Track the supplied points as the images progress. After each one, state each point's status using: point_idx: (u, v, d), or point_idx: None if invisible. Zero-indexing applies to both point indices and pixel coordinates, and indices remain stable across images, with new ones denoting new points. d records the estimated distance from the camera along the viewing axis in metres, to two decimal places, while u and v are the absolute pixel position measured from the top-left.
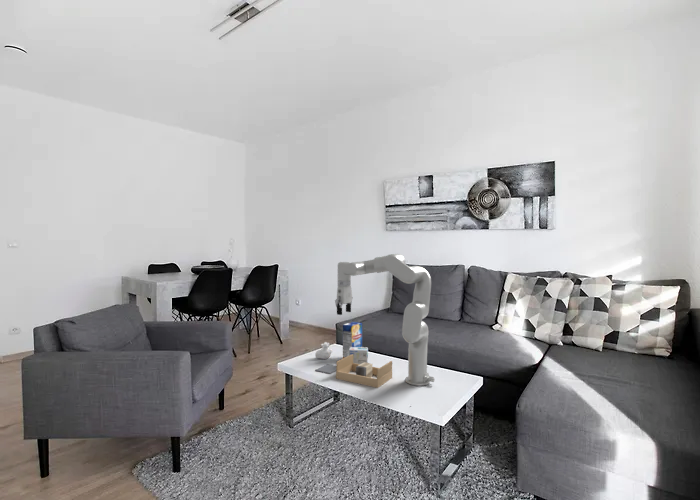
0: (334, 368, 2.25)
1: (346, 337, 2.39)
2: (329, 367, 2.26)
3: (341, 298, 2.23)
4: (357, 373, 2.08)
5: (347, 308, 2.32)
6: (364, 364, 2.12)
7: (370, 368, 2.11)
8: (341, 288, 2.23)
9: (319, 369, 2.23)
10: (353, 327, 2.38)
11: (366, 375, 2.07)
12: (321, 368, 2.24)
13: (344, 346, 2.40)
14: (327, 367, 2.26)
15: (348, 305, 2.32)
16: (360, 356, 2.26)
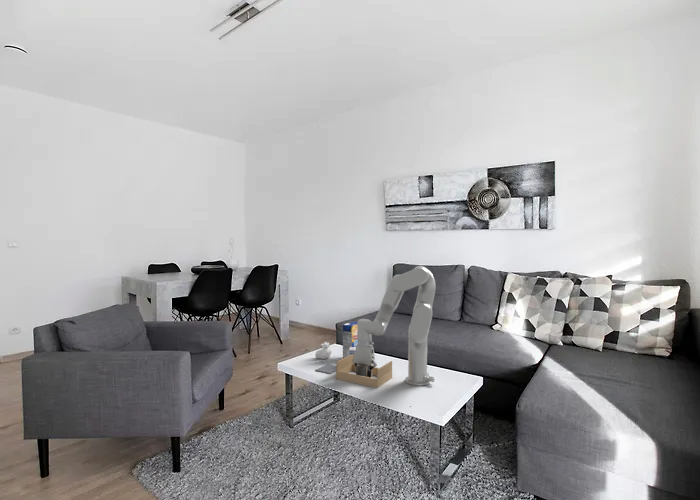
0: (334, 368, 2.25)
1: (346, 337, 2.39)
2: (329, 367, 2.26)
3: (374, 358, 2.09)
4: (357, 373, 2.08)
5: None
6: None
7: None
8: None
9: (319, 369, 2.23)
10: (353, 327, 2.38)
11: (366, 375, 2.07)
12: (321, 368, 2.24)
13: (344, 346, 2.40)
14: (327, 367, 2.26)
15: None
16: None
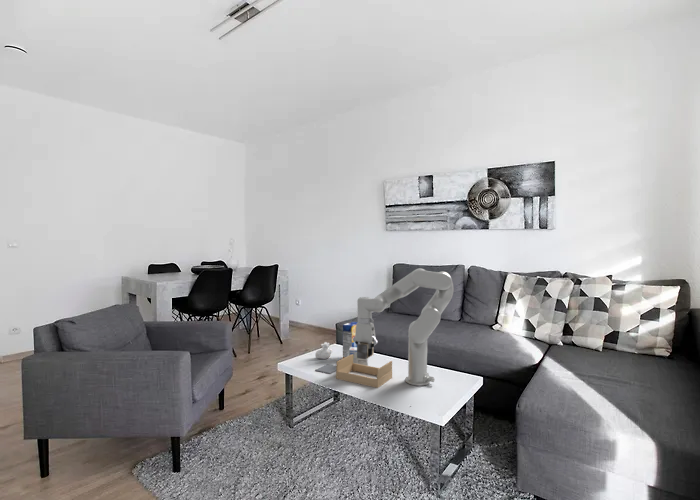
0: (334, 368, 2.25)
1: (346, 337, 2.39)
2: (329, 367, 2.26)
3: (374, 335, 2.09)
4: (358, 351, 2.07)
5: None
6: None
7: None
8: (373, 325, 2.08)
9: (319, 369, 2.23)
10: (353, 327, 2.38)
11: (367, 353, 2.07)
12: (321, 368, 2.24)
13: (344, 346, 2.40)
14: (327, 367, 2.26)
15: None
16: None
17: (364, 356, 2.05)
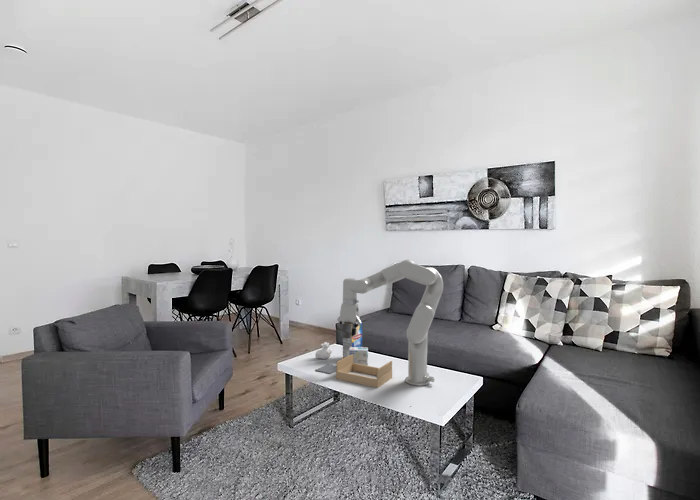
0: (334, 368, 2.25)
1: None
2: (329, 367, 2.26)
3: (358, 316, 2.14)
4: (342, 330, 2.13)
5: None
6: None
7: None
8: (357, 306, 2.14)
9: (319, 369, 2.23)
10: None
11: (351, 332, 2.13)
12: (321, 368, 2.24)
13: (344, 346, 2.40)
14: (327, 367, 2.26)
15: None
16: (360, 356, 2.26)
17: (347, 335, 2.11)
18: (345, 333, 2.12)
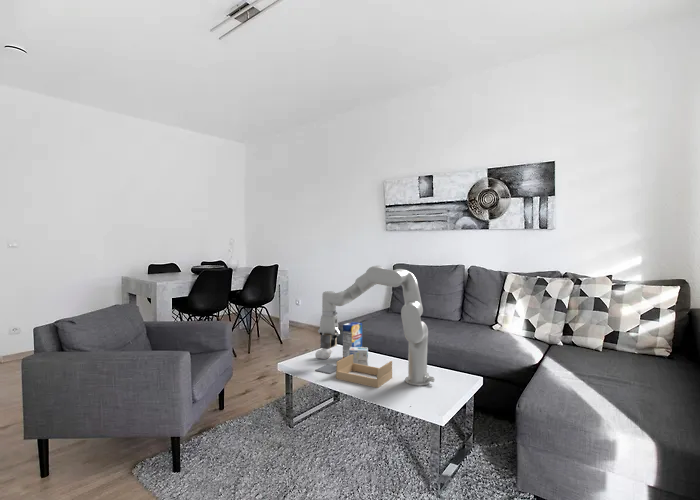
0: (334, 368, 2.25)
1: (346, 337, 2.39)
2: (329, 367, 2.26)
3: (337, 327, 2.23)
4: (321, 341, 2.21)
5: None
6: None
7: None
8: (336, 317, 2.22)
9: (319, 369, 2.23)
10: (353, 327, 2.38)
11: (330, 343, 2.21)
12: (321, 368, 2.24)
13: (344, 346, 2.40)
14: (327, 367, 2.26)
15: None
16: (360, 356, 2.26)
17: (327, 346, 2.19)
18: (324, 344, 2.20)
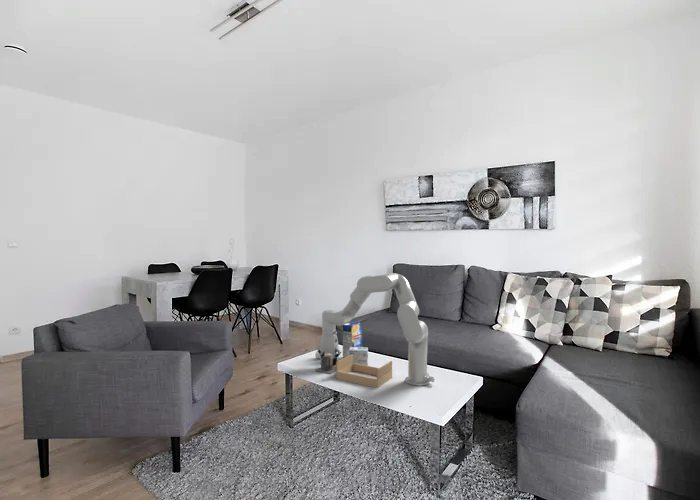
0: (334, 368, 2.25)
1: (346, 337, 2.39)
2: None
3: (337, 347, 2.23)
4: (322, 363, 2.21)
5: None
6: (329, 355, 2.26)
7: None
8: (336, 337, 2.23)
9: (319, 369, 2.23)
10: (353, 327, 2.38)
11: (330, 365, 2.21)
12: None
13: (344, 346, 2.40)
14: None
15: (323, 355, 2.27)
16: (360, 356, 2.26)
17: (327, 368, 2.20)
18: (325, 366, 2.20)
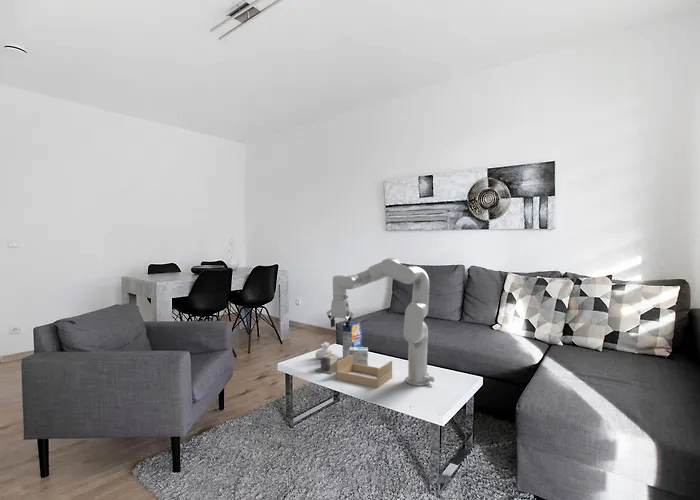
0: (334, 368, 2.25)
1: (346, 337, 2.39)
2: None
3: None
4: (322, 363, 2.21)
5: (333, 323, 2.26)
6: (329, 355, 2.26)
7: (335, 359, 2.25)
8: (347, 301, 2.23)
9: (319, 369, 2.23)
10: (353, 327, 2.38)
11: (330, 365, 2.21)
12: None
13: (344, 346, 2.40)
14: None
15: (333, 320, 2.27)
16: (360, 356, 2.26)
17: (327, 368, 2.20)
18: (325, 366, 2.20)
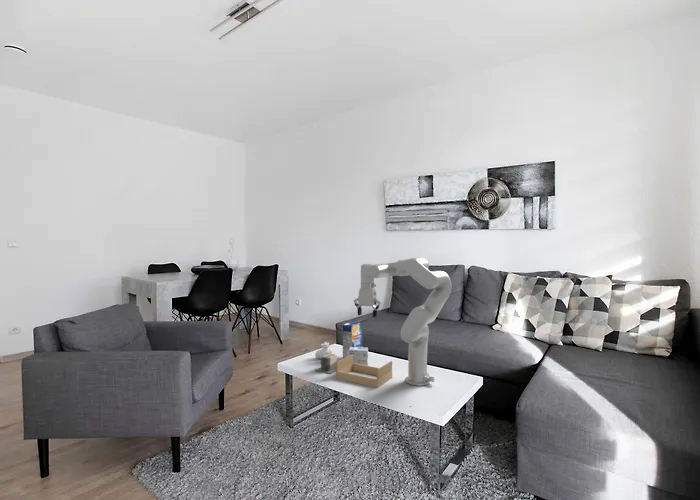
0: (334, 368, 2.25)
1: (346, 337, 2.39)
2: None
3: None
4: (322, 363, 2.21)
5: (360, 311, 2.27)
6: (329, 355, 2.26)
7: (335, 359, 2.25)
8: (375, 290, 2.23)
9: (319, 369, 2.23)
10: (353, 327, 2.38)
11: (330, 365, 2.21)
12: None
13: (344, 346, 2.40)
14: None
15: (360, 308, 2.27)
16: (360, 356, 2.26)
17: (327, 368, 2.20)
18: (325, 366, 2.20)
